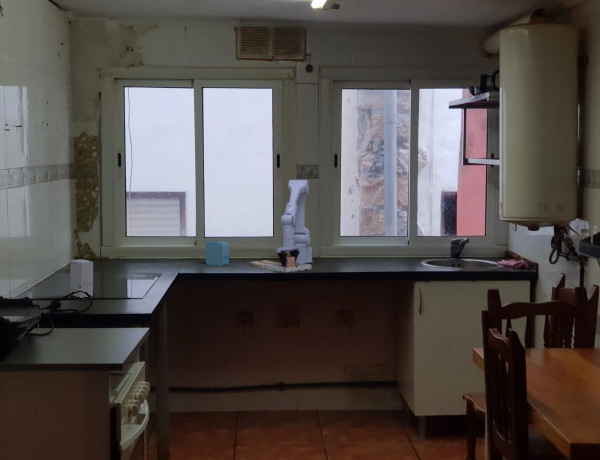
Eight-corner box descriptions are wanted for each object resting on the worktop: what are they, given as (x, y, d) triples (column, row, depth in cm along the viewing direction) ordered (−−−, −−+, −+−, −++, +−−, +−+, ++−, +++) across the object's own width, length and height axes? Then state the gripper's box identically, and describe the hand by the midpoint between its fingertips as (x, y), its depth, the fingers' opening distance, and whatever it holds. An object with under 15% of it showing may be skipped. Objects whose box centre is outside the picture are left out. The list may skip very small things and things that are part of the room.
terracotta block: (289, 268, 389) (289, 256, 389) (294, 269, 386) (294, 257, 385) (282, 268, 386) (282, 257, 386) (287, 269, 383) (287, 257, 382)
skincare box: (69, 296, 313) (68, 260, 311) (82, 294, 317) (81, 258, 316) (81, 299, 307) (80, 262, 306) (94, 297, 312) (93, 260, 310)
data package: (229, 265, 399) (228, 242, 398) (223, 266, 395) (223, 243, 394) (211, 263, 406) (211, 240, 404) (205, 264, 402) (205, 241, 401)
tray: (292, 265, 398) (292, 261, 398) (311, 268, 386) (311, 264, 386) (265, 268, 386) (265, 264, 386) (284, 272, 375) (284, 268, 374)
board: (266, 263, 406) (266, 260, 406) (280, 265, 397) (280, 262, 397) (248, 265, 398) (248, 262, 398) (262, 267, 389) (262, 264, 389)
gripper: (293, 236, 392) (293, 263, 394) (272, 239, 382) (272, 266, 384) (303, 237, 388) (303, 264, 389) (282, 240, 377) (282, 267, 379)
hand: (288, 265), depth 386 cm, fingers open, 6 cm apart
